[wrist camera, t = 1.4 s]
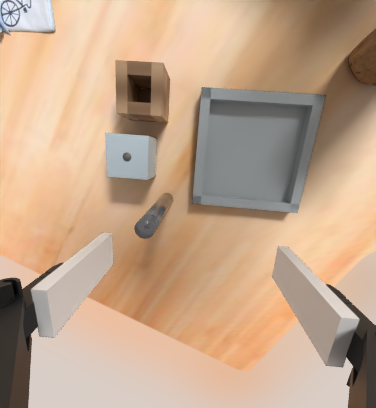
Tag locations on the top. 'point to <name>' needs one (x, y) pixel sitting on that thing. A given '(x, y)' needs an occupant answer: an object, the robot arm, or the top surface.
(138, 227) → the rod
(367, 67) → the block
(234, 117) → the tray
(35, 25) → the folded bicycle print cloth
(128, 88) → the bored block
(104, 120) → the top surface
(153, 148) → the block
